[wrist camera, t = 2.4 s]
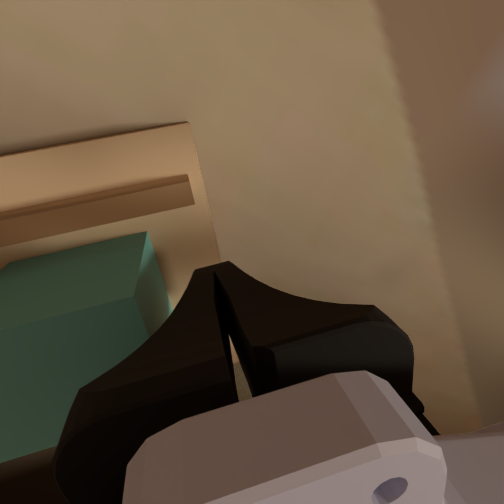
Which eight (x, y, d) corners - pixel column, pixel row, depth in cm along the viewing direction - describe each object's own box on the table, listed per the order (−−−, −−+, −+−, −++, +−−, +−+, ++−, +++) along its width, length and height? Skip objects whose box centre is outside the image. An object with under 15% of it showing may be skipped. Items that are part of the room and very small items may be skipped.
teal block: (174, 315, 14) (175, 408, 10) (54, 347, 13) (-5, 464, 9) (147, 231, 12) (134, 296, 8) (9, 262, 12) (-92, 353, 7)
